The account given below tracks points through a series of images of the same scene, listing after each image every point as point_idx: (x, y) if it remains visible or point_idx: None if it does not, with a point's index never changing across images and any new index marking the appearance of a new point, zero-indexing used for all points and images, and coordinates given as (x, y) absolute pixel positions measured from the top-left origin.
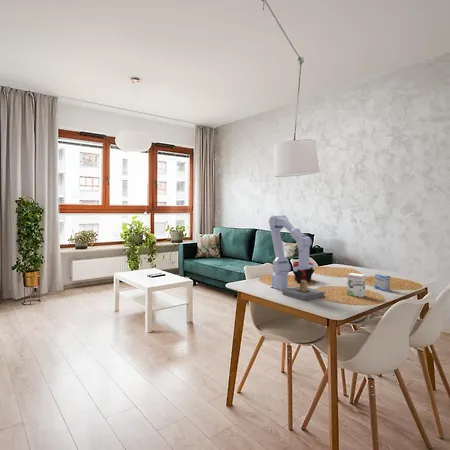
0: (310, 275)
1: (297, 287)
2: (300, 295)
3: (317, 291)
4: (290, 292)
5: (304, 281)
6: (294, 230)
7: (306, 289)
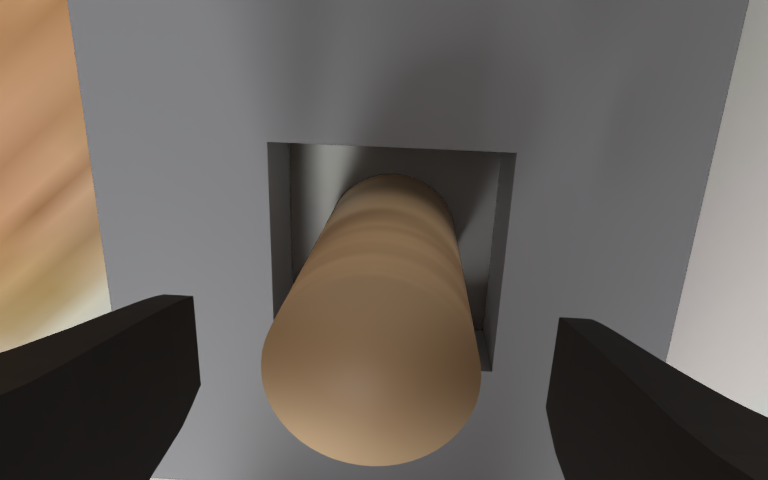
0: (50, 371)
1: (278, 470)
2: (720, 85)
3: (185, 42)
4: (664, 347)
5: (389, 328)
6: None
7: (376, 205)
